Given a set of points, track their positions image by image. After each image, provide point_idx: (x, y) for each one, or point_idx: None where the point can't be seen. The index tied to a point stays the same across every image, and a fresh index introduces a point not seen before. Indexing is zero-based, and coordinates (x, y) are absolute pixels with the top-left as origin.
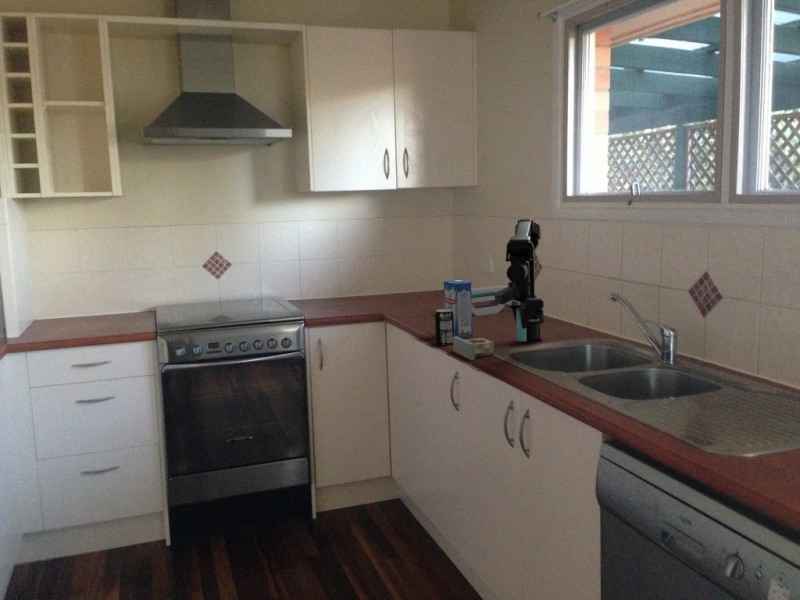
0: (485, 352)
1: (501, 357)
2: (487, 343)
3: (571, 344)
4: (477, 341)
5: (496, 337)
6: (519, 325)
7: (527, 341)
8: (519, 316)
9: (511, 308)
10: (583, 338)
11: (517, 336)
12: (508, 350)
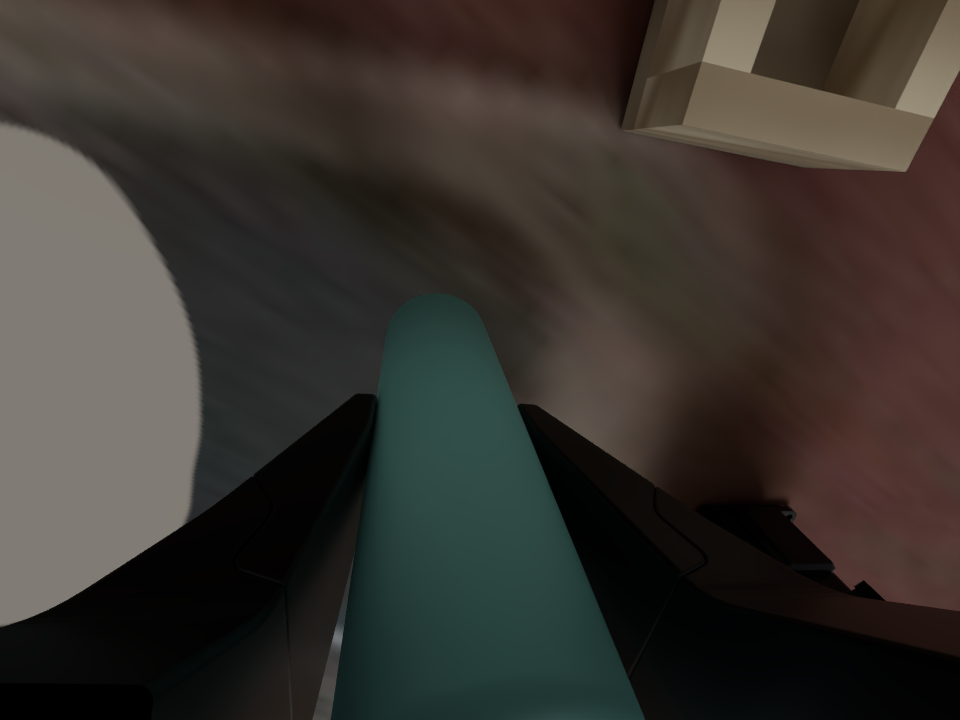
0: (660, 23)
1: (495, 119)
2: (707, 33)
3: None
4: (895, 65)
5: (926, 447)
6: (407, 390)
7: (701, 512)
8: (396, 513)
9: (815, 630)
10: None
11: (443, 310)
12: (640, 316)
